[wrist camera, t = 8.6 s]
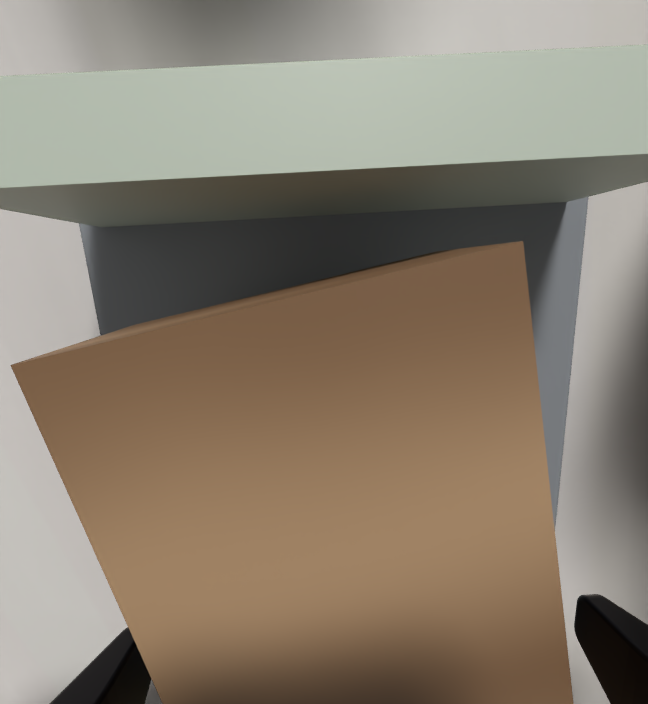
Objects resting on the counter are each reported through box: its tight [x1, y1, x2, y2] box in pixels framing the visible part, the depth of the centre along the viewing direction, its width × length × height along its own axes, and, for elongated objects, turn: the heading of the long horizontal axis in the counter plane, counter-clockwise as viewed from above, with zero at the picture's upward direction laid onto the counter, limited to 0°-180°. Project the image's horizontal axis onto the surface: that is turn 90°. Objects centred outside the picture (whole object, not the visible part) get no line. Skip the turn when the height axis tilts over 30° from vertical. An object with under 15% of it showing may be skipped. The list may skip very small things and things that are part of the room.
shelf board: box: [11, 241, 573, 704], centre depth 7 cm, size 14×6×3 cm, turn 13°
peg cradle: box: [0, 44, 648, 530], centre depth 9 cm, size 12×20×5 cm, turn 3°
